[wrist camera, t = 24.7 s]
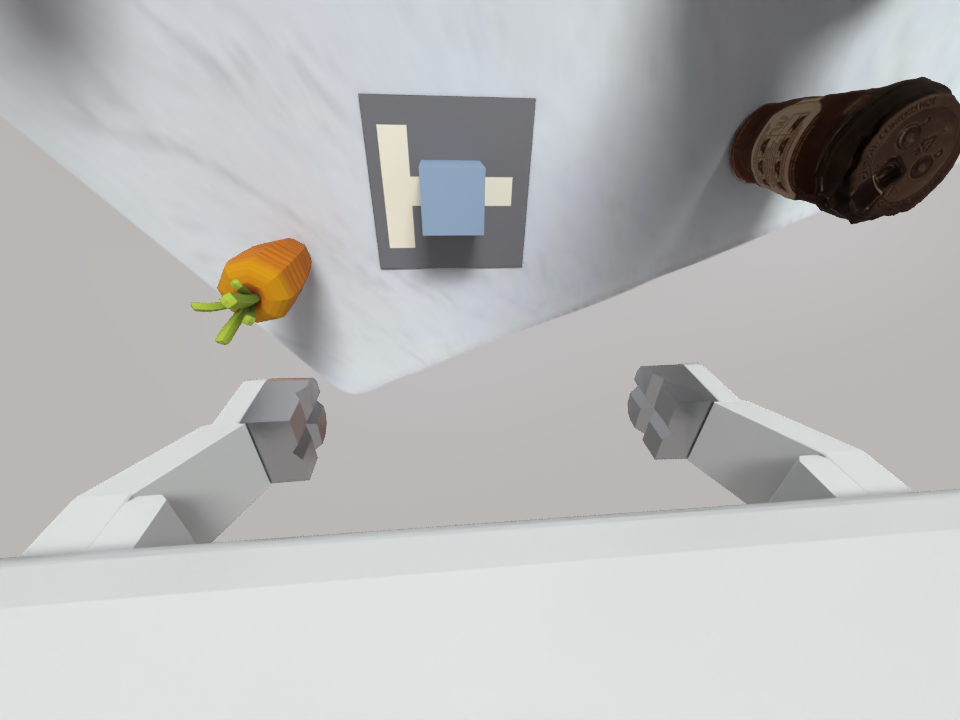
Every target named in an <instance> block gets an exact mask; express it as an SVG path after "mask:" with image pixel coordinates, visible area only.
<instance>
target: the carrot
mask: <svg viewBox="0 0 960 720" xmlns="http://www.w3.org/2000/svg"><path fill="white" fill-rule="evenodd" d="M310 268H311V258H310V255H309V253H308V250H307V248H306V246H305V245H303V244H302V243H300V242H298V241H296V240H294V239H290V238H287V239H283V240H278V241H273V242H268V243H264V244H260V245H257V246H253V247H251V248H249V249H248V250H246V251H244V252H242V253H240V254H239V255H237V256H236V257H234V258H232V259H231V260H229V261H228V262H227V263H226V265H225V267H224V270H223V273H222V276H221V278H220V281H219V284H218V287H217V289H218V290H219V292H220V293H221V295H222V297H221V298H220V299H219V300H220V301H221V302H215V303H199V302H196V303H195V302H191V307H192V308H193V309H194V310H195V311H202V312H212V311H218V310H223V309H227V308H228V309H230V310H231V311H233V312H235V313H234V315H233V316H232V317H231V318H230V319H229V321H228V322H227V323H226V324H225V326H224V327H223V328H222V329H221V331H220V332H219V334H218V335H217V338H216V340H215V341H216V342H217V343H220V344H224V345H226V344H229V342H230V341H231V340H232V338H233V336H234V335H235V333H236V331H237V330H238V328H239V326H240V325H241V323H244V324H246V325H250V326H251V325H252V324H253V323H254V322H257V323H258V322H263V321H268V320H273V319H278V318H281V317H284V316H285V315H286V314H287V312H288V311H289V309H290V308H291V306H292V305H293V304H294V302H295V300H296V299H297V297H298V295H299V294H300V292H301V290H302V288H303V285H304V283H305V281H306V279H307V277H308V274H309V271H310Z"/></svg>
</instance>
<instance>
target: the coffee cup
mask: <svg viewBox="0 0 960 720" xmlns="http://www.w3.org/2000/svg"><path fill="white" fill-rule="evenodd" d="M959 154H960V104H959V102H958V101H957V100H956V98H955V96H954V95H952V92H951V90H950V89H949V88H948V87H946V86H945V85H942V84H941V83H938V82H934V81H931V80H930V79H928V78H925V77H920V78H917V79H910V80H904V81H901V82H897V83H894V84H892V85H889V86H885V87H881V88H872V89H868V90H858V91H850V92H846V93H838V94H829V95H826V96H812V97H804V98H797V99H792V100H789V101H786V102H782V103H769V104H765V105H763V106H761V107H760V108H758V109H757V110H756V111H754V112H753V113H752V114H751V115H749V116H748V117H747V118H746V119H745V120H744V122H743V123H742V124H741V126H740V127H739V129H738V130H737V132H736V135H735V137H734V139H733V142H732V144H731V147H730V165H731V169H732V171H733V173H734V175H735V177H736V178H738V179H740V180H741V181H743V182H744V183H745V184H749V183H756V184H757V185H759V186H762V187H766V188H768V189H770V190H772V191H774V192H776V193H778V194H780V195H782V196H784V197H786V198H788V199H792V200H803V201H807V202H810V203H812V204H816V205H817V207H818V208H819V209H820V210H821V211H824V212H827V213H829V214H832V215H835V216H836V217H839V218H844V219H847V220H849V222H850V223H851V224H856V223H859V222H864V221H867V220H874V219H876V218H879V217H881V216H884V215H885V216H891V215H893V216H894V215H895V214H898V213H899V212H906V211H908V210H910V209H911V208H913V207H915V206H916V204H918V203H919V202H921V201H922V200H923V199H924V198H925V197H926V196H927V195H928V194H929V193H930V192H931V191H933V189H935V188H936V187H937V185H938V184H939V183H941V182H942V181H943V179H944V178H945V177H946V175H947V174H948V172H949V171H950V170H951V169H952V167H953V166H954V164H955V162H956V160H957V158H958V156H959Z"/></svg>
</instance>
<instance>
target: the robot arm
mask: <svg viewBox="0 0 960 720" xmlns="http://www.w3.org/2000/svg"><path fill="white" fill-rule="evenodd" d="M635 381H636V383H637V385H638V386H637V387H636V389H634V390H633V391H632V392H631V393H630V397H629V400H628V414H629V417H630V420H631V422H632V424H633V425H634V427H635V428H636V429H638V430H639V431H641V432H643V433H644V437H643V441H644V443H645V445H646V446H647V448H648V449H649V451H650V452H651V454H652V456H653V457H654V459H655V460H657V459H688V461H690V462H691V463H692V464H694V465H695V466H696V467H698V468H699V469H700V470H702V471H703V472H704V473H706V474H707V475H708V476H710V477H711V478H712V479H714V480H715V481H717V482H718V483H719V484H721V485H722V486H723V487H725V488H726V489H728V490H729V491H730V492H732V493H733V494H734V495H736V496H737V497H739V498H740V499H741V500H742V501H744V502H745V503H746V504H745V505H731V506H717V507H704V508H690V509H676V510H661V511H647V512H633V513H619V514H606V515H592V516H577V517H564V518H551V519H550V518H549V519H535V520H523V521H522V520H521V521H508V522H494V523H481V524H466V525H454V526H453V525H452V526H438V527H425V528H411V529H397V530H383V531H370V532H356V533H342V534H328V535H314V536H300V537H288V538H273V539H260V540H259V539H258V540H245V541H231V542H218V543H211V542H213V541H214V540H215V539H216V538H217V537H218V536H219V535H220V534H221V533H222V532H223V531H224V530H225V529H226V528H227V527H228V526H229V525H230V524H231V523H232V522H233V521H235V520H236V519H237V518H238V517H239V516H240V515H241V514H242V513H243V512H244V511H245V510H246V509H247V508H248V507H249V506H250V505H251V504H252V503H253V502H254V501H255V500H256V499H257V498H259V496H261V495H262V494H263V493H264V492H265V491H266V490H267V489H268V488H269V487H270V486H271V483H281V482H292V481H305V480H310V478H311V475H312V472H313V469H314V467H315V464H316V461H317V458H318V457H317V454H316V451H315V449H317V448H318V447H319V446H320V445H322V444H323V441H324V438H325V434H326V424H327V422H326V413H325V409H324V406H323V405H322V404H320V403H319V402H318V401H317V398H318V396H319V393H320V390H319V387H318V384H317V381H316V380H315V379H314V378H279V379H278V378H276V379H249V380H246V381H244V382H243V383H242V384H241V385H240V387H239V388H238V389H237V391H236V392H235V394H234V395H233V396H232V398H231V399H230V400H229V402H228V403H227V404H226V406H225V407H224V408H223V410H222V411H221V412H220V414H219V415H218V417H217V418H216V419H215V421H214V422H213V424H212V425H204V426H202V427H200V428H198V429H197V430H195V431H193V432H191V433H190V434H188V435H186V436H184V437H182V438H181V439H179V440H177V441H176V442H174V443H172V444H170V445H168V446H166V447H165V448H163V449H161V450H159V451H158V452H156V453H154V454H152V455H150V456H149V457H147V458H145V459H143V460H142V461H140V462H138V463H136V464H134V465H133V466H131V467H129V468H127V469H126V470H124V471H122V472H120V473H118V474H117V475H115V476H113V477H111V478H110V479H108V480H106V481H104V482H102V483H101V484H99V485H97V486H95V487H94V488H92V489H90V490H88V491H86V492H85V493H83V494H81V495H79V496H78V497H76V498H74V500H73V501H72V502H71V503H70V504H69V505H68V506H67V507H66V508H65V509H64V510H63V511H62V512H61V513H60V514H59V515H58V516H57V517H56V519H55V520H54V521H53V522H52V523H51V524H50V525H49V526H48V527H47V528H46V529H45V530H44V531H43V532H42V533H41V534H40V535H39V536H38V538H37V539H36V540H35V541H34V542H33V543H32V544H31V545H30V546H29V547H28V548H27V549H26V550H25V551H24V552H23V553H22V554H21V555H20V557H9V558H0V720H960V489H953V490H938V491H924V492H914V491H913V490H911V489H910V488H909V487H908V486H906V485H905V484H903V482H901V481H900V480H899V479H898V478H896V477H895V476H894V475H892V474H891V473H890V472H889V471H888V470H886V469H885V468H884V467H883V466H881V465H880V464H879V463H878V462H876V461H875V460H874V459H872V458H871V457H870V456H869V455H868V454H866V453H865V452H864V451H862V450H860V449H857V448H855V447H853V446H851V445H848V444H846V443H843V442H841V441H839V440H837V439H834V438H832V437H830V436H828V435H825V434H823V433H821V432H818V431H816V430H814V429H811V428H809V427H807V426H804V425H802V424H800V423H797V422H795V421H793V420H791V419H788V418H786V417H784V416H781V415H779V414H777V413H775V412H772V411H770V410H767V409H765V408H763V407H760V406H758V405H756V404H754V403H751V402H749V401H747V400H745V401H741V400H739V398H737V397H736V396H735V395H734V394H733V393H732V392H731V391H730V390H729V389H728V388H727V387H726V386H725V385H724V384H723V383H721V382H720V381H719V380H718V379H717V378H716V377H715V376H714V375H713V374H712V373H711V372H710V371H709V370H708V369H706V367H705V366H704V365H702V364H699V363H687V364H678V365H659V366H641V367H640V368H639V370H638V371H637V373H636V376H635Z"/></svg>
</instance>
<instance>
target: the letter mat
mask: <svg viewBox="0 0 960 720" xmlns="http://www.w3.org/2000/svg"><path fill="white" fill-rule="evenodd" d="M358 95H359V102H360V110H361V118H362V126H363V134H364V141H365V149H366V157H367V165H368V173H369V180H370V188H371V196H372V204H373V212H374V219H375V227H376V235H377V243H378V251H379V258H380V266H381V269H386V268H463V267H522V259H523V247H524V234H525V222H526V210H527V198H528V186H529V174H530V162H531V150H532V137H533V125H534V113H535V101H536V98H499V97H462V96H425V95H387V94H358ZM421 160H476V161H480V162H481V163H482V164H483V165H484V166H485V168H486V173H485V213H484V235H444V236H423V230H422V214H421V198H420V182H419V164H420V162H421Z"/></svg>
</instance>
